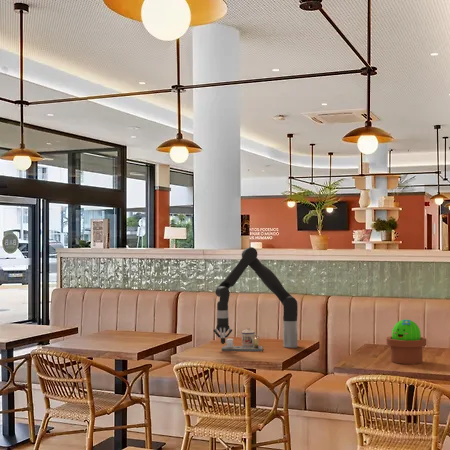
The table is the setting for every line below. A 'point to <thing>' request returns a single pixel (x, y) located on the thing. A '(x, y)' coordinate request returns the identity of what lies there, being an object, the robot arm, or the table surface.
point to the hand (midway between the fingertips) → (223, 343)
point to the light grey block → (229, 343)
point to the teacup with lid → (248, 337)
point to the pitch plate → (245, 347)
